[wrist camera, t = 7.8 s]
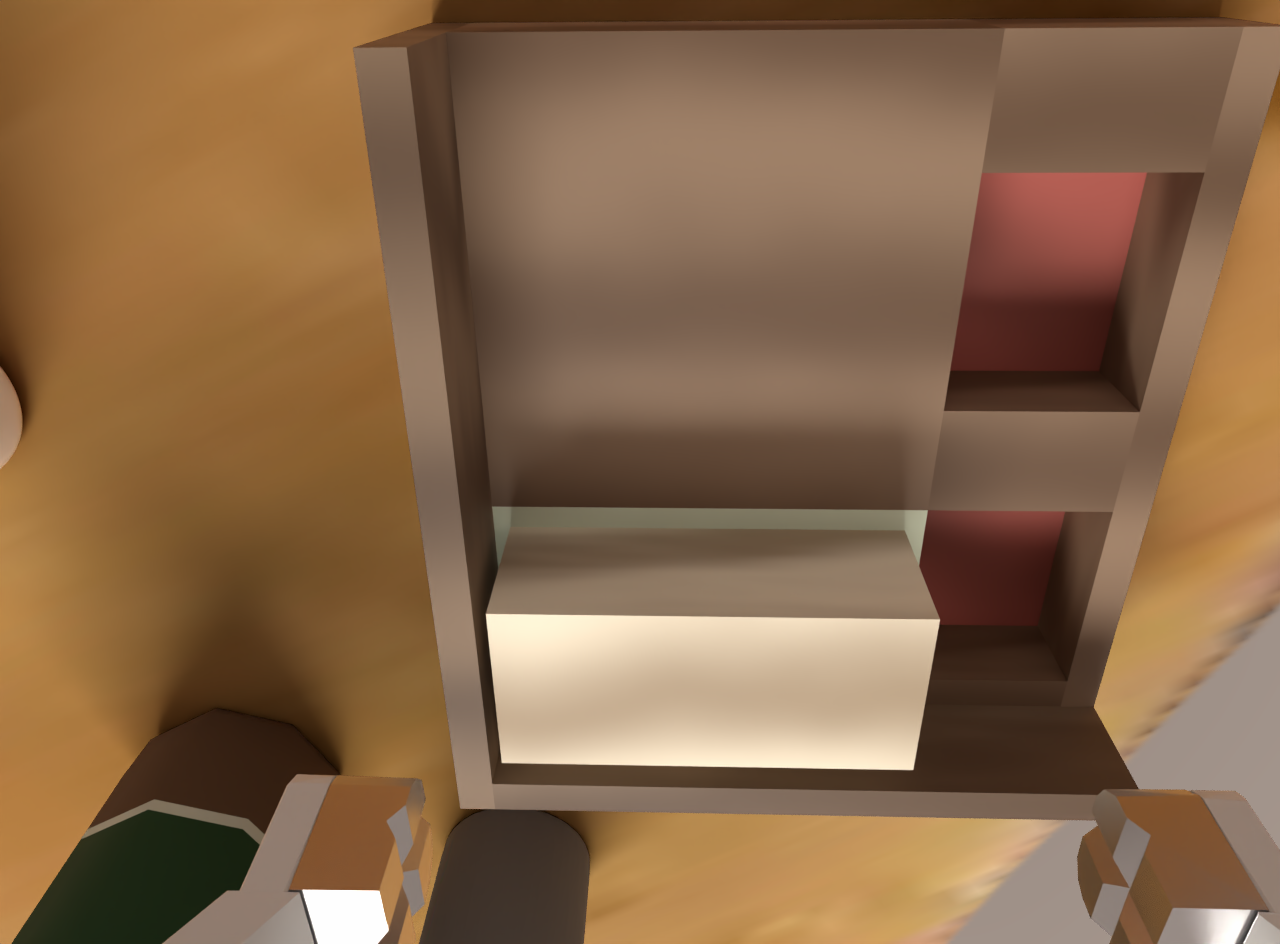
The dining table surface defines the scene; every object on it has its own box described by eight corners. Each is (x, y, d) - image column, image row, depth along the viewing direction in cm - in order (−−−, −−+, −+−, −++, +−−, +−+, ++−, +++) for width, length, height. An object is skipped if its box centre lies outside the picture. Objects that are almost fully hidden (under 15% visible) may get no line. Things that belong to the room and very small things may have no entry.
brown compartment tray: (431, 22, 23) (352, 47, 18) (1221, 17, 23) (1403, 40, 17) (497, 660, 33) (460, 808, 27) (1052, 667, 32) (1133, 821, 27)
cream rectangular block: (510, 526, 27) (485, 614, 23) (904, 530, 26) (939, 619, 23) (522, 665, 29) (501, 763, 26) (884, 670, 29) (913, 769, 25)
